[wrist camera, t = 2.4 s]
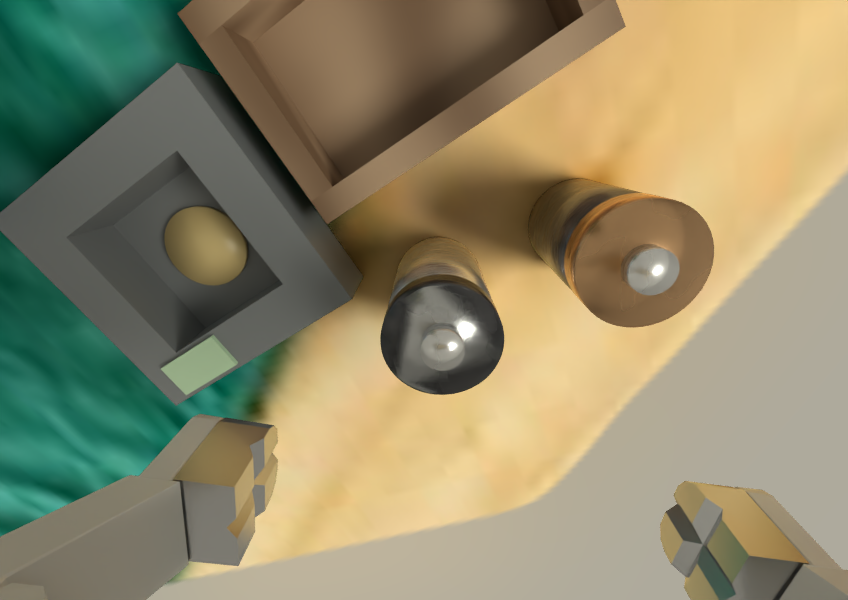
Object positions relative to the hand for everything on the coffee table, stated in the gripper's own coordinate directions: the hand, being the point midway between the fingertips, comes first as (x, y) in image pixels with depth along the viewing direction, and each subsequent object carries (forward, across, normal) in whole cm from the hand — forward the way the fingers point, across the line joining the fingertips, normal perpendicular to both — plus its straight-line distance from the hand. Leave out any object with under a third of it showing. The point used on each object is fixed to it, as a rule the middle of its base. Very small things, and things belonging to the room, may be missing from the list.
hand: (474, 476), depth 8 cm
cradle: (+12, +11, 0) cm, 16 cm away
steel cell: (+12, +1, 0) cm, 12 cm away
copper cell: (+12, -5, -4) cm, 14 cm away
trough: (+12, +4, -10) cm, 16 cm away
